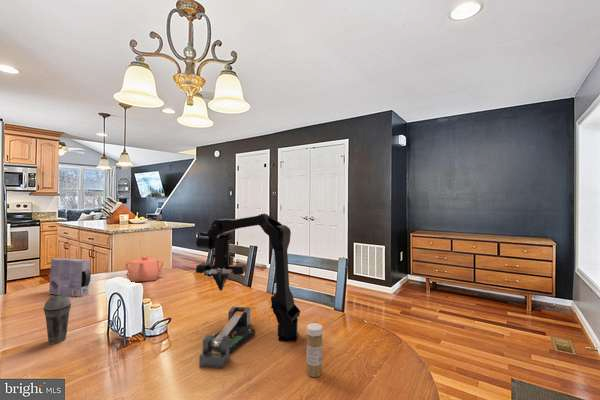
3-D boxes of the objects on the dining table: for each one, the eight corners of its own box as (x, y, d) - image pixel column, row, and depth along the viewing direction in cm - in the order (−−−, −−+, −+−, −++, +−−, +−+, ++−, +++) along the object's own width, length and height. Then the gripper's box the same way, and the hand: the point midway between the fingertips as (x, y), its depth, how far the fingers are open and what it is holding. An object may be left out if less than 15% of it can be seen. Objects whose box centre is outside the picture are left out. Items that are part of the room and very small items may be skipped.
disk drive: (232, 330, 108) (204, 348, 95) (232, 323, 108) (204, 340, 95) (255, 336, 104) (229, 356, 91) (255, 328, 104) (229, 347, 91)
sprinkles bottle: (313, 366, 85) (313, 321, 85) (325, 373, 82) (325, 326, 82) (302, 373, 82) (303, 326, 81) (314, 380, 78) (315, 331, 78)
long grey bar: (244, 314, 111) (244, 310, 111) (220, 348, 86) (220, 343, 86) (236, 314, 111) (236, 310, 111) (210, 348, 87) (210, 342, 87)
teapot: (119, 287, 155) (119, 262, 155) (127, 277, 174) (128, 255, 174) (160, 284, 162) (160, 259, 162) (164, 275, 180) (164, 253, 180)
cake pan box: (91, 294, 144) (91, 259, 144) (82, 297, 139) (82, 261, 139) (58, 291, 147) (58, 257, 147) (48, 295, 142) (48, 259, 142)
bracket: (250, 323, 113) (250, 306, 113) (223, 368, 83) (223, 344, 83) (232, 322, 114) (232, 305, 114) (199, 366, 84) (199, 343, 84)
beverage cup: (37, 347, 93) (38, 286, 93) (50, 336, 100) (51, 279, 100) (64, 344, 95) (64, 284, 95) (75, 334, 102) (75, 278, 102)
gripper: (250, 248, 120) (249, 285, 120) (207, 246, 122) (206, 283, 122) (242, 253, 109) (242, 294, 109) (195, 251, 111) (194, 291, 111)
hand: (221, 290), depth 113 cm, fingers closed
